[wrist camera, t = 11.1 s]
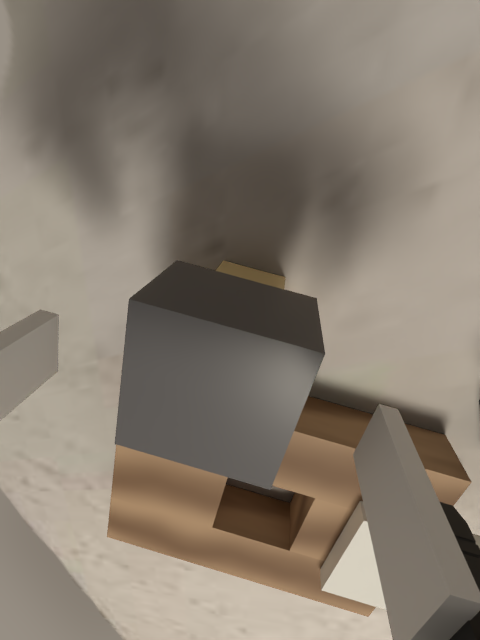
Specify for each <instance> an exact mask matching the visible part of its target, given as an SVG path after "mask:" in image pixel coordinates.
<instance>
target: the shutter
mask: <svg viewBox="0 0 480 640" xmlns="http://www.w3.org/2000/svg"><path fill="white" fill-rule="evenodd" d="M473 536H474V538H475V540H476V544H477V545H478V546H479V548H480V536H478V535H475V534H473ZM320 578H321V590H322V591H325V592H328V593H332V594H335V595H338V596H342V597H345V598H348V599H351V600H355V601H358V602H361V603H364V604H368V605H371V606H374V607H378V608H381V609H384V610H386V605H385V601H384V596H383V591H382V587H381V582H380V577H379V573H378V568H377V564H376V559H375V554H374V550H373V545H372V541H371V536H370V531H369V527H368V522H367V517H366V513H365V508H364V504H363V501H360V502H359V503H358V505H357V507H356V508H355V510H354V512H353V514H352V515H351V517H350V519H349V520H348V522H347V524H346V526H345V527H344V529H343V531H342V533H341V534H340V536H339V538H338V539H337V541H336V543H335V545H334V546H333V548H332V550H331V552H330V553H329V555H328V557H327V558H326V560H325V562H324V564H323V565H322V567H321V569H320Z"/></svg>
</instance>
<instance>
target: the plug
mask: <svg viewBox="0 0 480 640" xmlns="http://www.w3.org/2000/svg"><path fill="white" fill-rule="evenodd" d="M284 286H285V277H282V276H279V275H275V274H271V273H268V272H264V271H260V270H257V269H253V268H249V267H245V266H242V265H238V264H234V263H231V262H227V261H223V262H222V263H221V264H220V265H219V267H218V268H217V269H216V271H215V270H211V269H207V268H204V267H200V266H196V265H193V264H189V263H185V262H182V261H178V260H177V261H176V262H174V263H173V264H172V265H171V266H169V267H168V268H167V269H166V270H165V271H163V272H162V273H161V274H160V275H158V276H157V277H156V278H155V279H153V280H152V281H151V282H150V283H148V284H147V285H146V286H145V287H143V288H142V289H141V290H140V291H138V292H137V293H136V294H135V295H133V296H132V297H131V298H130V299H129V304H128V315H127V325H126V335H125V345H124V355H123V366H122V376H121V386H120V396H119V406H118V416H117V427H116V437H115V444H117V445H120V446H123V447H127V448H130V449H133V450H137V451H140V452H144V453H147V454H150V455H154V456H157V457H160V458H164V459H167V460H171V461H174V462H177V463H181V464H184V465H188V466H191V467H194V468H198V469H201V470H204V471H208V472H211V473H215V474H218V475H221V476H225V477H228V478H232V479H235V480H238V481H242V482H245V483H248V484H252V485H255V486H259V487H262V488H265V489H269V490H271V487H272V485H273V482H274V480H275V477H276V475H277V472H278V470H279V467H280V465H281V462H282V460H283V457H284V455H285V452H286V450H287V447H288V445H289V442H290V440H291V437H292V435H293V432H294V430H295V427H296V425H297V422H298V420H299V417H300V415H301V412H302V410H303V407H304V405H305V402H306V400H307V397H308V395H309V392H310V390H311V387H312V385H313V382H314V380H315V377H316V375H317V372H318V370H319V367H320V365H321V362H322V360H323V357H324V355H325V350H324V344H323V337H322V331H321V324H320V318H319V311H318V305H317V298H313V297H310V296H306V295H303V294H299V293H295V292H292V291H288V290H284Z"/></svg>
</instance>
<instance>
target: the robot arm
mask: <svg viewBox="0 0 480 640" xmlns="http://www.w3.org/2000/svg"><path fill="white" fill-rule="evenodd" d="M58 326H59V315H58V314H55V313H51V312H47V311H44V310H39V311H37V312H35V313H33V314H32V315H30V316H28V317H26V318H24V319H23V320H21V321H19V322H17V323H15V324H14V325H12V326H10V327H8V328H6V329H4V330H3V331H1V332H0V420H2V419H3V418H4V417H5V416H6V415H7V414H9V413H10V412H11V411H12V410H13V409H14V408H16V407H17V406H18V405H19V404H20V403H21V402H22V401H24V400H25V399H26V398H27V397H28V396H29V395H31V394H32V393H33V392H34V391H35V390H36V389H38V388H39V387H40V386H41V385H42V384H43V383H45V382H46V381H47V380H48V379H49V378H50V377H52V376H53V375H54V374H55V373H56V372H57V371H58ZM353 457H354V462H355V467H356V471H357V476H358V481H359V485H360V490H361V494H362V499H363V504H364V508H365V513H366V517H367V522H368V527H369V531H370V536H371V541H372V545H373V550H374V554H375V559H376V564H377V568H378V573H379V577H380V582H381V587H382V591H383V596H384V601H385V605H386V610H387V614H388V619H389V624H390V628H391V633H392V637H393V640H480V548H479V546H478V545H477V544H476V540H475V538H474V536H473V534H472V532H471V530H470V528H469V526H468V524H467V523H466V521H465V520H464V519H463V518H462V517H461V515H460V514H459V513H458V512H457V510H456V509H455V508H454V507H453V506H452V505H449V504H446V503H442V502H439V500H438V497H437V495H436V493H435V491H434V488H433V486H432V484H431V482H430V479H429V477H428V475H427V473H426V471H425V468H424V466H423V464H422V462H421V459H420V457H419V455H418V453H417V450H416V448H415V446H414V444H413V441H412V439H411V437H410V435H409V433H408V430H407V428H406V426H405V424H404V421H403V419H402V417H401V415H400V412H399V410H398V409H396V408H392V407H388V406H385V405H381V404H378V406H377V408H376V410H375V412H374V414H373V416H372V418H371V420H370V422H369V424H368V426H367V428H366V430H365V432H364V434H363V436H362V438H361V440H360V442H359V444H358V446H357V448H356V450H355V452H354V454H353Z"/></svg>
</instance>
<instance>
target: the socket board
mask: <svg viewBox="0 0 480 640" xmlns="http://www.w3.org/2000/svg"><path fill="white" fill-rule="evenodd" d="M372 416H373V414H370V413H366V412H363V411H359V410H356V409H352V408H349V407H345V406H341V405H338V404H334V403H331V402H327V401H324V400H320V399H317V398H313V397H310V396H308V397H307V400H306V402H305V405H304V407H303V410H302V412H301V415H300V417H299V420H298V422H297V425H296V427H295V430H294V432H293V435H292V437H291V440H290V442H289V445H288V447H287V450H286V452H285V455H284V457H283V460H282V462H281V465H280V467H279V470H278V472H277V475H276V477H275V480H274V482H273V485H272V486H275V487H279V488H282V489H286V490H289V491H292V492H295V494H294V496H293V498H292V500H291V503H288V502H284V501H281V500H277V499H274V498H271V497H267V496H264V495H261V494H257V493H254V492H250V491H247V490H244V489H240V488H237V487H234V486H230V485H227V484H226V481H227V478H228V477H225V476H221V475H218V474H215V473H211V472H208V471H204V470H201V469H198V468H194V467H191V466H188V465H184V464H181V463H177V462H174V461H171V460H167V459H164V458H160V457H157V456H154V455H150V454H147V453H144V452H140V451H137V450H133V449H130V448H127V447H123V446H120V445H117V444H116V454H115V464H114V473H113V483H112V493H111V503H110V513H109V523H108V532H107V537H110V538H113V539H116V540H119V541H123V542H126V543H129V544H132V545H136V546H139V547H142V548H146V549H149V550H152V551H155V552H159V553H162V554H165V555H168V556H172V557H175V558H178V559H181V560H185V561H188V562H191V563H194V564H198V565H201V566H204V567H208V568H211V569H214V570H217V571H221V572H224V573H227V574H230V575H234V576H237V577H240V578H243V579H247V580H250V581H253V582H256V583H260V584H263V585H266V586H270V587H273V588H276V589H279V590H283V591H286V592H289V593H292V594H296V595H299V596H302V597H305V598H309V599H312V600H315V601H318V602H322V603H325V604H328V605H332V606H335V607H338V608H341V609H345V610H348V611H351V612H354V613H358V614H361V615H364V616H367V617H368V616H369V615H370V614H371V613H372V611H373V610H374V609H375V607H374V606H371V605H368V604H364V603H361V602H358V601H355V600H351V599H348V598H345V597H342V596H338V595H335V594H332V593H328V592H325V591H322V590H321V578H320V569H321V567H322V565H323V564H324V562H325V560H326V558H327V557H328V555H329V553H330V552H331V550H332V548H333V546H334V545H335V543H336V541H337V539H338V538H339V536H340V534H341V533H342V531H343V529H344V527H345V526H346V524H347V522H348V520H349V519H350V517H351V515H352V514H353V512H354V510H355V508H356V507H357V505H358V503H359V502H360V501H363V499H362V494H361V490H360V485H359V481H358V476H357V471H356V467H355V462H354V457H353V454H354V452H355V450H356V448H357V446H358V444H359V442H360V440H361V438H362V436H363V434H364V432H365V430H366V428H367V426H368V424H369V422H370V420H371V418H372ZM404 424H405V423H404ZM405 426H406V428H407V430H408V433H409V435H410V437H411V439H412V441H413V444H414V446H415V448H416V450H417V453H418V455H419V457H420V459H421V462H422V464H423V466H424V468H425V471H426V473H427V475H428V477H429V479H430V482H431V484H432V486H433V488H434V491H435V493H436V495H437V497H438V500H439V502H442V503H446V504H449V505H452V506H454V504H455V503H456V502H457V500H458V499H459V498H460V496H461V495H462V494H463V492H464V491H465V490H466V489H467V487H468V486H469V485H470V483H471V480H470V479H469V477H468V475H467V473H466V471H465V470H464V468H463V466H462V464H461V462H460V461H459V459H458V457H457V455H456V453H455V452H454V450H453V448H452V446H451V444H450V443H449V441H448V439H447V437H446V435H443V434H440V433H436V432H433V431H429V430H426V429H422V428H419V427H415V426H412V425H408V424H405Z"/></svg>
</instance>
